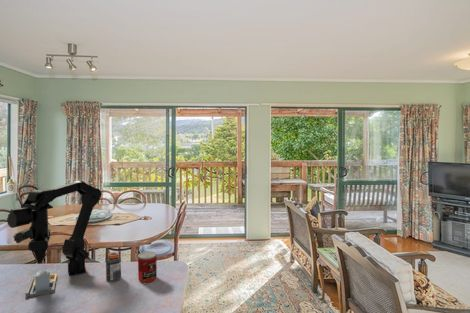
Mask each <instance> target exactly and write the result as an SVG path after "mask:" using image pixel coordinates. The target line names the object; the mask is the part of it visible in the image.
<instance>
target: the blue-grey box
mask: <svg viewBox="0 0 470 313" xmlns="http://www.w3.org/2000/svg"><path fill="white" fill-rule="evenodd" d="M50 275H51V270H50V269H49V270H45V269H44V270H40V271H37V272H36V273H35V275H34V279H35V289H34V291H35V292H40V291H45V290H50V289H51V286H50V281H51V278H50ZM35 292H34V293H35Z"/></svg>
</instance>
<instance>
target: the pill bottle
mask: <svg viewBox="0 0 470 313" xmlns="http://www.w3.org/2000/svg"><path fill="white" fill-rule="evenodd" d="M107 256H108V258H107V259H106V261H105V269H106V270H105V273H106V274H105V276H106V278H105V279H106V281H107V282H108V283H109V282H110V283H115V282H117V281H120V279H122V261H121V260H122V258H120V257H119V253H118V252H116V251H115V252H110V253H108V255H107Z"/></svg>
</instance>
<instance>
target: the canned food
mask: <svg viewBox="0 0 470 313" xmlns="http://www.w3.org/2000/svg"><path fill="white" fill-rule="evenodd" d="M137 255H138V256H137V271H138V272H137V274H138V278H137V279H138V282H140V283H141V284H150V283H153V282H154V281H155V280H156V279H157V278H158V277H157V276H158V275H157V272H158V271H157V269H158V268H157V262H158V261H157V252H156V251H151V250H149V251H147V250H146V251H143V252H140V253H139V254H137Z"/></svg>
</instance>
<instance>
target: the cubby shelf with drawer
mask: <svg viewBox="0 0 470 313" xmlns="http://www.w3.org/2000/svg"><path fill="white" fill-rule="evenodd" d="M51 278H53V280H50V287H51V286H52V287H51V288H50V290H45V291H40V292H34V291H35V275H33V276H31V277H30V279H29V282H28V285H27V288H26V290H25V298H26V299H27V298H33V297H38V296H43V295H48V294H52V293H55V289H56V284H57V278H58V274H57V273H52V274H51V273H50V279H51Z"/></svg>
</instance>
